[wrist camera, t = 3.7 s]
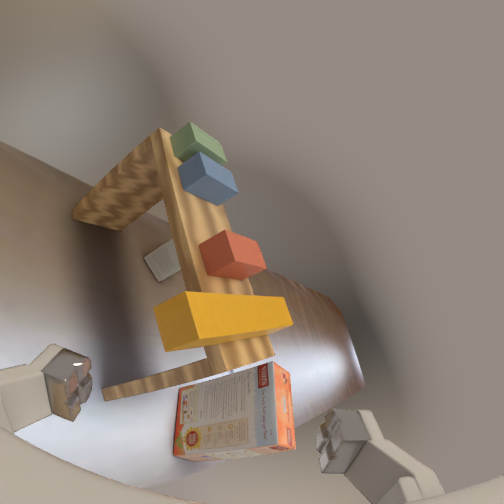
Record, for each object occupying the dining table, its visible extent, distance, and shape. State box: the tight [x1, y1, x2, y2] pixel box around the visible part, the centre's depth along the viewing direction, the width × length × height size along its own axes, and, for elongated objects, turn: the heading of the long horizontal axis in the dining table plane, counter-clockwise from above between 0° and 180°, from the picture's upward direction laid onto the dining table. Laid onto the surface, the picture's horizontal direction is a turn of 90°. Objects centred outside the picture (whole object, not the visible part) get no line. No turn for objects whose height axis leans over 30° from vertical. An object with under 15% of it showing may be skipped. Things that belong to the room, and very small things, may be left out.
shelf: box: [72, 128, 275, 401], centre depth 46 cm, size 12×34×24 cm, turn 34°
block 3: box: [199, 230, 267, 280], centre depth 39 cm, size 8×4×4 cm, turn 124°
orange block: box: [153, 291, 293, 352], centre depth 33 cm, size 20×4×4 cm, turn 124°
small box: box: [144, 238, 181, 282], centre depth 65 cm, size 8×6×13 cm
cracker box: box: [174, 361, 296, 461], centre depth 47 cm, size 14×6×21 cm, turn 1°
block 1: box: [170, 122, 227, 166], centre depth 45 cm, size 8×4×4 cm, turn 124°
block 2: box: [178, 151, 239, 206], centre depth 43 cm, size 8×4×4 cm, turn 124°
